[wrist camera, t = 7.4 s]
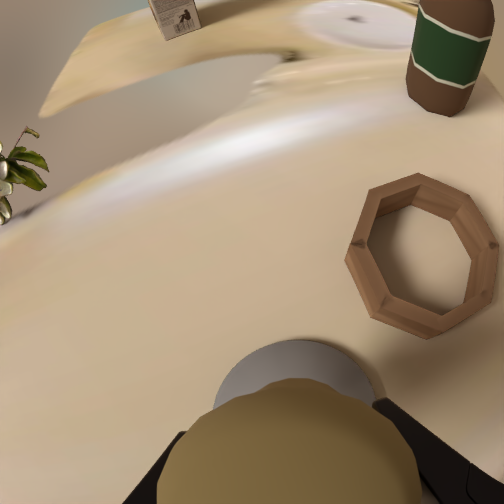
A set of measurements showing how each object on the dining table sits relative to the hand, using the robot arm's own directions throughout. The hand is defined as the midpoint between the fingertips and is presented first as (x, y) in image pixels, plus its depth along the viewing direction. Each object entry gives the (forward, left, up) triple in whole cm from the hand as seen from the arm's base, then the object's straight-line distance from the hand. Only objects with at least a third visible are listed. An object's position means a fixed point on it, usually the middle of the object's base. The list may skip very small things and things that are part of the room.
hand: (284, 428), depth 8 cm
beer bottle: (+22, -27, -13) cm, 37 cm away
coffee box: (+55, -3, -13) cm, 56 cm away
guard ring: (+6, -13, -13) cm, 19 cm away
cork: (-1, 0, -7) cm, 7 cm away
